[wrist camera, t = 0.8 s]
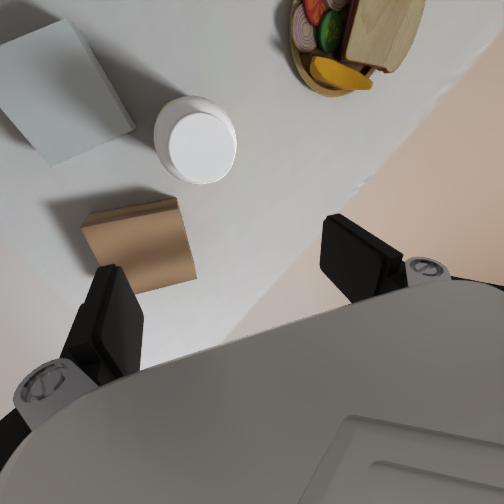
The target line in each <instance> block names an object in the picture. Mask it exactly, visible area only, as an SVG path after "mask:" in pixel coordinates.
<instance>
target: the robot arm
mask: <svg viewBox="0 0 504 504" xmlns="http://www.w3.org/2000/svg"><path fill="white" fill-rule="evenodd" d="M402 258H403V254H402V253H401V252H399V251H397V250H396V249H394V248H393V247H391V246H390V245H388V244H386V243H385V242H383V241H382V240H380V239H379V238H377V237H375V236H374V235H372V234H371V233H369V232H368V231H366V230H365V229H363V228H362V227H360V226H358V225H357V224H355V223H354V222H352V221H350V220H349V219H348V218H346V217H344V216H343V215H341V214H334V215H329V216H327V218H326V219H325V220H324V221H323V231H322V243H321V255H320V268H321V270H322V271H323V272H324V274H325V275H326V276H327V277H328V278H329V279H330V280H331V281H332V282H333V283H334V284H335V285H336V287H337V288H338V289H339V290H340V291H341V292H342V293H343V294H344V295H345V296H346V297H347V298H348V299H349V300H350V302H351V303H352V304H348V305H345V306H342V307H338V308H335V309H332V310H329V311H325V312H323V313H319V314H316V315H312V316H309V317H306V318H303V319H300V320H296V321H294V322H290V323H287V324H284V325H280V326H277V327H274V328H271V329H268V330H265V331H261V332H258V333H255V334H252V335H249V336H246V337H242V338H239V339H236V340H233V341H230V342H227V343H224V344H220V345H217V346H214V347H211V348H208V349H205V350H201V351H198V352H195V353H192V354H189V355H186V356H183V357H180V358H177V359H174V360H170V361H167V362H164V363H161V364H158V365H155V366H152V367H150V368H147V369H144V370H141V371H140V359H141V347H142V335H143V323H144V316H143V312H142V310H141V307H140V305H139V303H138V301H137V299H136V297H135V294H134V292H133V290H132V288H131V286H130V284H129V282H128V279H127V277H126V275H125V273H124V271H123V269H122V267H121V266H116V265H115V264H109V265H105V266H100V267H98V268H97V271H96V273H95V276H94V279H93V281H92V284H91V287H90V289H89V292H88V294H87V297H86V300H85V302H84V303H83V304H81V306H80V307H79V310H78V312H77V315H76V317H75V320H74V323H73V325H72V327H71V330H70V332H69V335H68V338H67V340H66V342H65V345H64V347H63V350H62V353H61V355H60V358H59V359H55V360H51V361H49V362H47V363H44V364H42V365H41V366H39V367H38V368H36V369H35V370H33V371H32V372H31V373H30V374H28V375H27V376H26V377H25V378H24V379H23V381H22V382H21V383H20V384H19V386H18V387H17V389H16V391H15V393H14V397H13V402H14V405H15V407H16V408H15V409H13V410H12V411H11V412H10V413H9V414H7V415H6V416H5V417H4V418H3V419H1V420H0V504H504V286H500V285H495V284H490V283H484V282H479V281H474V280H469V279H463V278H458V277H453V276H450V274H449V271H448V269H447V268H446V267H445V266H444V265H443V264H441V263H440V262H438V261H435V260H433V259H429V258H425V257H412V258H410V259H408V260H407V261H406V262H404V261H402Z"/></svg>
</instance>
